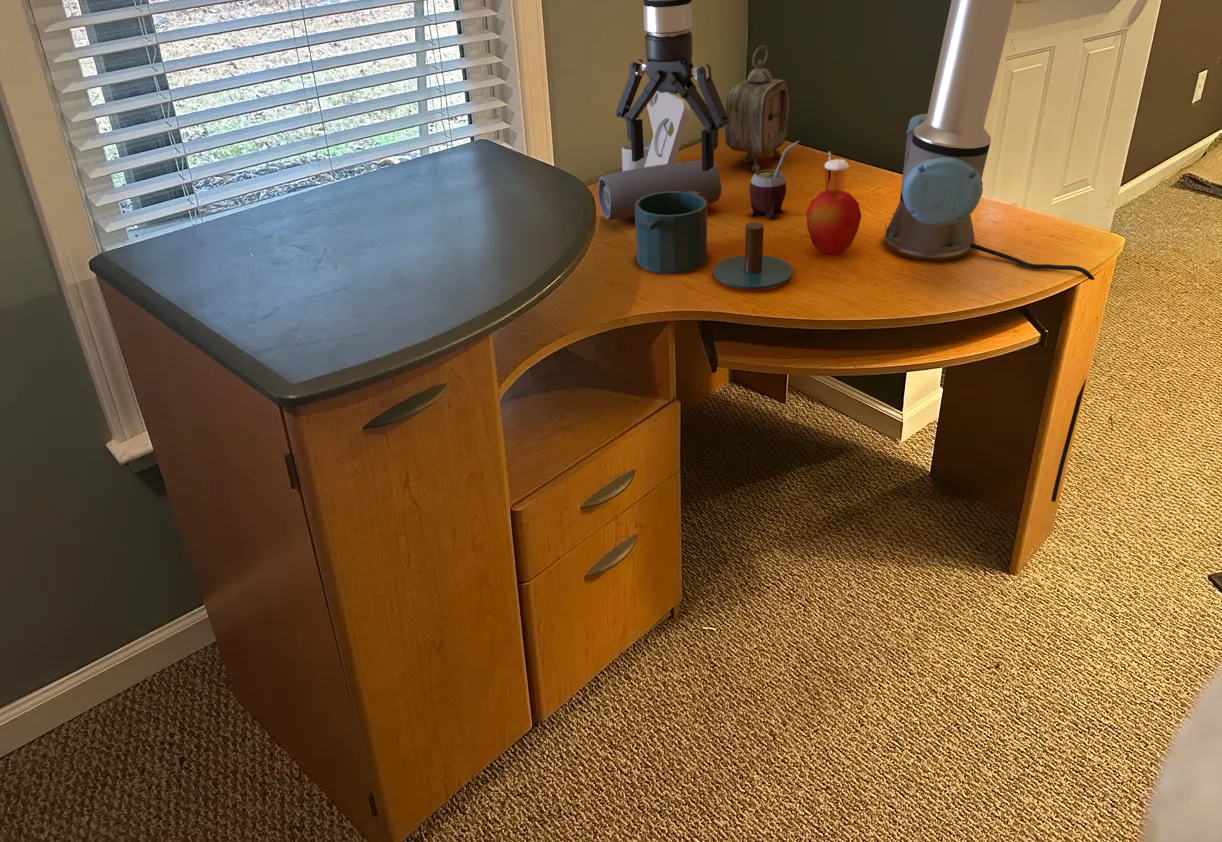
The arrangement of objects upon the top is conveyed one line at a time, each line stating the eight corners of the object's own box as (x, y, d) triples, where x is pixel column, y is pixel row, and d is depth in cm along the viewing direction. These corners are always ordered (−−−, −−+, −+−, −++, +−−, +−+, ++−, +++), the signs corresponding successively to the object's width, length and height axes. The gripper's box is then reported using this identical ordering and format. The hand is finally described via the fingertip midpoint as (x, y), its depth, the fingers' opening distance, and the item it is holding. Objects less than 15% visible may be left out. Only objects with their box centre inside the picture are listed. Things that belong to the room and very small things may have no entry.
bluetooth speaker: (704, 199, 201) (704, 151, 196) (722, 214, 194) (723, 164, 188) (598, 216, 196) (595, 167, 191) (612, 232, 188) (610, 181, 183)
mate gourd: (743, 210, 195) (745, 134, 187) (780, 205, 197) (784, 130, 189) (757, 223, 189) (760, 145, 181) (795, 217, 190) (800, 140, 182)
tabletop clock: (759, 176, 212) (763, 55, 199) (722, 170, 216) (723, 51, 203) (787, 156, 222) (793, 40, 209) (751, 151, 226) (754, 37, 213)
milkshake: (835, 198, 198) (839, 149, 193) (849, 207, 194) (853, 157, 188) (815, 202, 197) (818, 152, 192) (828, 210, 193) (832, 160, 187)
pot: (725, 248, 179) (726, 192, 174) (677, 284, 167) (676, 226, 161) (666, 236, 185) (665, 182, 180) (615, 271, 173) (613, 214, 167)
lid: (805, 269, 170) (808, 218, 165) (772, 299, 161) (774, 246, 156) (735, 255, 176) (736, 206, 171) (699, 283, 167) (699, 232, 162)
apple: (793, 252, 176) (797, 187, 170) (829, 239, 180) (834, 175, 174) (832, 268, 170) (837, 201, 163) (868, 254, 174) (874, 188, 168)
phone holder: (618, 174, 217) (614, 90, 208) (659, 166, 220) (658, 84, 211) (651, 197, 204) (649, 109, 194) (694, 189, 207) (695, 102, 197)
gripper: (750, 31, 152) (748, 165, 163) (614, 23, 164) (621, 149, 175) (728, 41, 147) (728, 179, 158) (589, 32, 159) (598, 161, 170)
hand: (672, 164), depth 167 cm, fingers open, 13 cm apart
